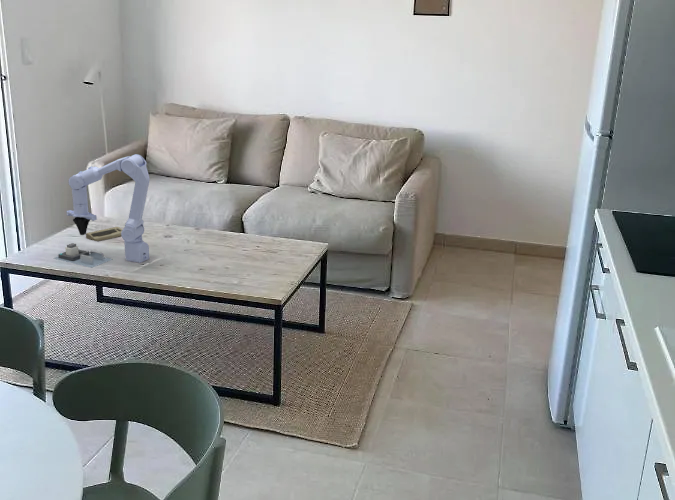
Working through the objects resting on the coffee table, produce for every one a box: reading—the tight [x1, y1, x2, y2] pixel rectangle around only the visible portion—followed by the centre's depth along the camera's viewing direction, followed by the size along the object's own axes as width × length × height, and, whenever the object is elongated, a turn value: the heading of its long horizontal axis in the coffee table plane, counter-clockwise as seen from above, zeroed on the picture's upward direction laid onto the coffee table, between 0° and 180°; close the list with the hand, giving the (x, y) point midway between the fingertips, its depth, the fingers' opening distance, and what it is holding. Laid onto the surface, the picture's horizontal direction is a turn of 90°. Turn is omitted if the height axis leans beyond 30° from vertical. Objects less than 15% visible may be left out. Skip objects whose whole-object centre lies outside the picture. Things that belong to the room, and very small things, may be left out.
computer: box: [85, 226, 123, 242], centre depth 328 cm, size 16×8×3 cm, turn 136°
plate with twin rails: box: [80, 250, 105, 265], centre depth 295 cm, size 6×7×3 cm
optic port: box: [57, 248, 90, 261], centre depth 299 cm, size 8×9×2 cm
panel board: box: [53, 253, 113, 269], centre depth 297 cm, size 21×12×1 cm, turn 64°
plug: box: [65, 242, 79, 256], centre depth 298 cm, size 3×4×6 cm
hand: (83, 234), depth 300 cm, fingers closed
